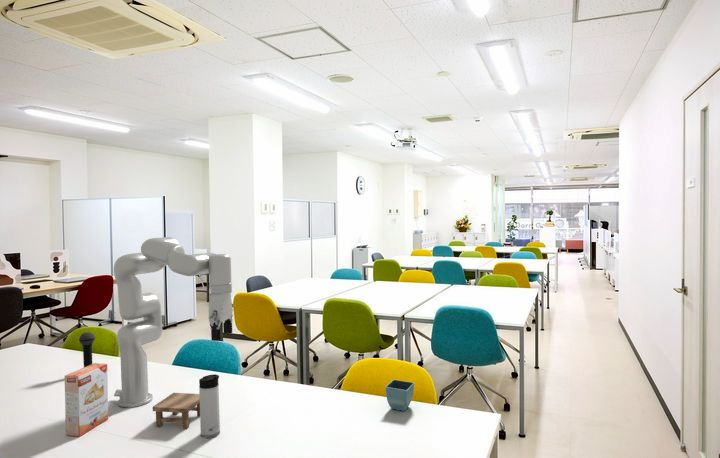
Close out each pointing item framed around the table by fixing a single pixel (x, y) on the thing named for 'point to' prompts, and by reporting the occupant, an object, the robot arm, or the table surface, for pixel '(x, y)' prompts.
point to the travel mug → (209, 406)
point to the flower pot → (399, 394)
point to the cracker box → (86, 399)
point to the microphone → (87, 347)
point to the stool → (177, 408)
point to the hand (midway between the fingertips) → (222, 336)
